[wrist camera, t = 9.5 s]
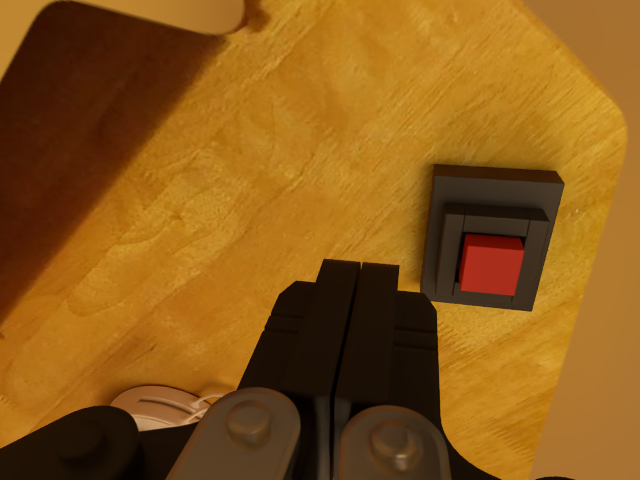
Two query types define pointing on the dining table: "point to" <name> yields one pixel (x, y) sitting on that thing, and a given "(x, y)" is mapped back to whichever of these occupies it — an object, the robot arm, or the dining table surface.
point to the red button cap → (490, 264)
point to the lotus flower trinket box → (162, 406)
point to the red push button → (488, 228)
